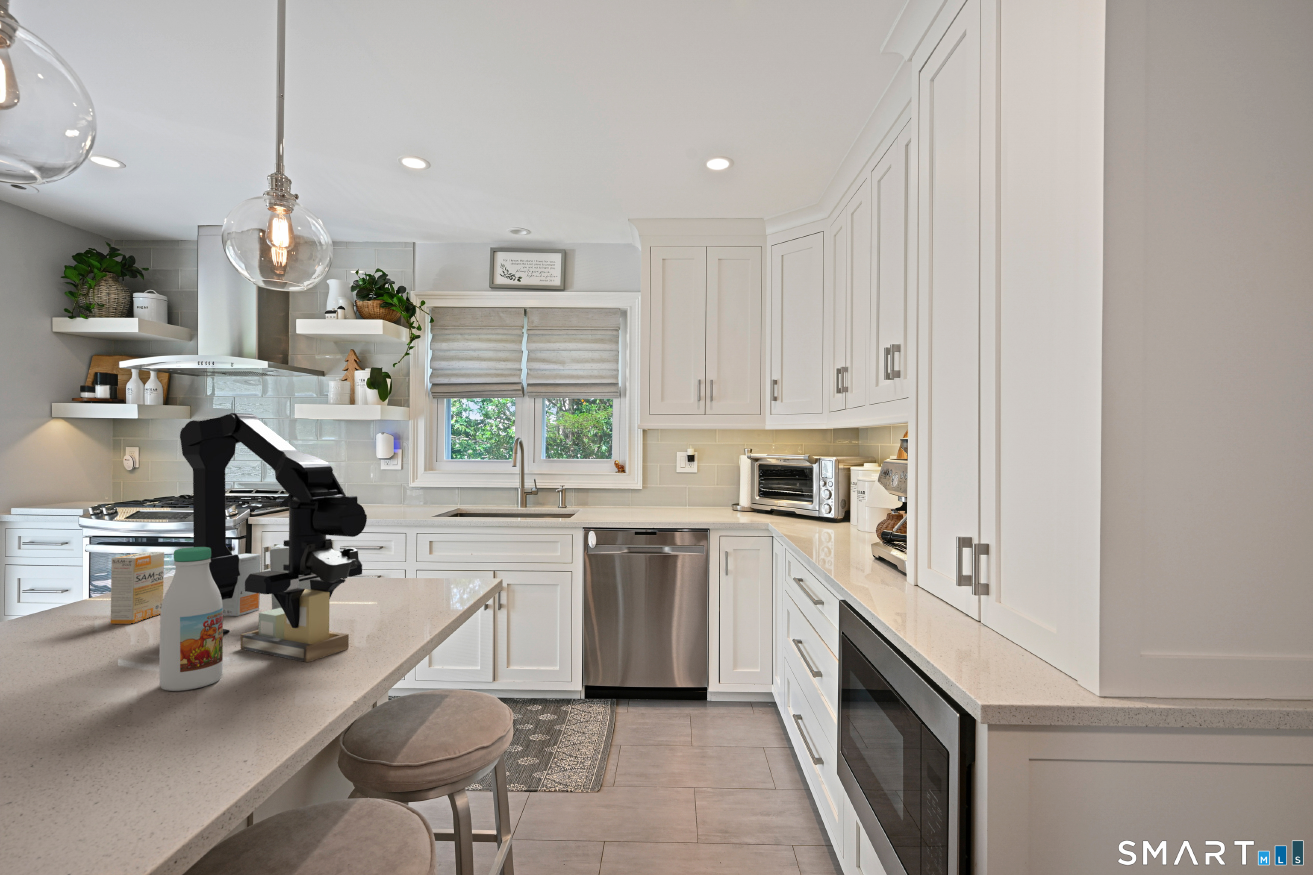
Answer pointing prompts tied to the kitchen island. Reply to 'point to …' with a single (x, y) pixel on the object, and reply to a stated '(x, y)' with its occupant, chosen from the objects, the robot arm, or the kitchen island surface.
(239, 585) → the skincare box
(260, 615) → the sage carton
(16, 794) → the kitchen island surface
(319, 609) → the ochre carton
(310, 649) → the tray
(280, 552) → the skincare box
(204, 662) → the milk bottle
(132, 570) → the supplement box
